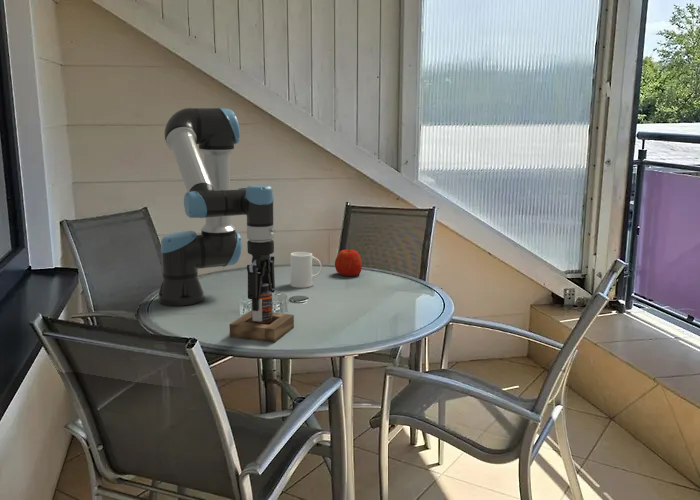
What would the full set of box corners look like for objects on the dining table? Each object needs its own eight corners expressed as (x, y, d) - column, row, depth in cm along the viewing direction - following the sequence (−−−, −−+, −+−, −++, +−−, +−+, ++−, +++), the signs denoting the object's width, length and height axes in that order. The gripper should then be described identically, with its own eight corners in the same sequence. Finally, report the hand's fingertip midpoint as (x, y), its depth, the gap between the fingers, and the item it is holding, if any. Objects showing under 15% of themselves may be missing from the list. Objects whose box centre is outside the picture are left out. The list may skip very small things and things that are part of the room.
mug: (322, 282, 248) (322, 251, 246) (321, 288, 240) (320, 256, 237) (291, 282, 248) (291, 251, 246) (289, 287, 240) (288, 256, 237)
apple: (332, 277, 256) (332, 251, 254) (337, 271, 266) (337, 245, 264) (359, 278, 254) (359, 252, 252) (363, 272, 264) (364, 246, 262)
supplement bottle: (263, 326, 185) (262, 288, 183) (247, 322, 189) (246, 285, 186) (276, 320, 190) (276, 283, 188) (260, 317, 194) (260, 280, 191)
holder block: (229, 337, 186) (229, 324, 185) (251, 322, 199) (251, 310, 198) (274, 342, 181) (274, 329, 181) (293, 327, 195) (293, 314, 194)
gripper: (258, 246, 175) (259, 328, 179) (285, 234, 192) (286, 309, 197) (233, 245, 177) (235, 325, 182) (262, 233, 194) (264, 307, 199)
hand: (262, 317), depth 189 cm, fingers closed on supplement bottle, 6 cm apart
